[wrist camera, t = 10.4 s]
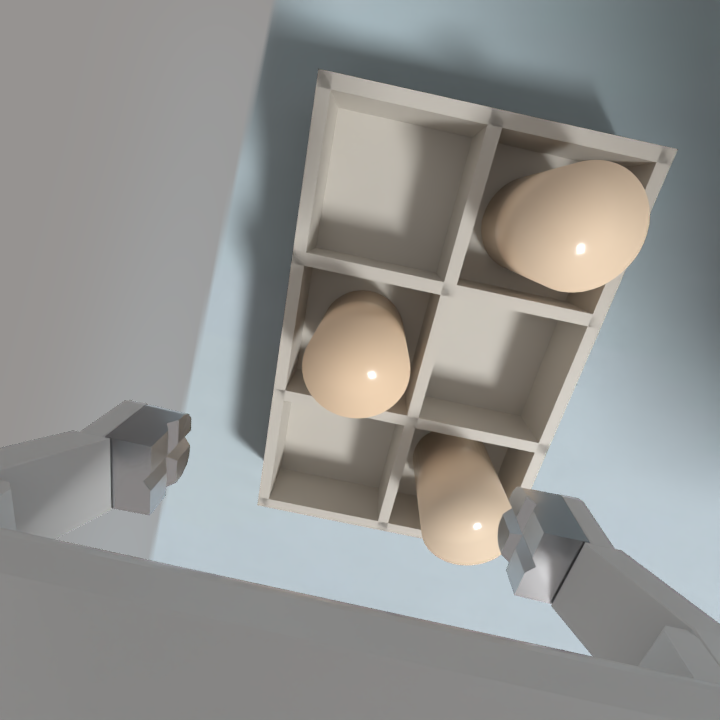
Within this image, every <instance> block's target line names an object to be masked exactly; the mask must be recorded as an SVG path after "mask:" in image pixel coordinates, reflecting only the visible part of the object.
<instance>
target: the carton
mask: <svg viewBox="0 0 720 720" xmlns="http://www.w3.org/2000/svg"><path fill="white" fill-rule="evenodd" d="M677 150H678V149H675V148H670V147H666V146H661V145H657V144H652V143H648V142H643V141H639V140H634V139H630V138H626V137H621V136H617V135H612V134H608V133H603V132H599V131H594V130H590V129H585V128H581V127H576V126H572V125H567V124H563V123H559V122H554V121H550V120H545V119H541V118H536V117H532V116H527V115H523V114H518V113H514V112H509V111H505V110H500V109H496V108H492V107H487V106H483V105H478V104H474V103H469V102H465V101H460V100H456V99H451V98H447V97H442V96H438V95H433V94H429V93H425V92H420V91H416V90H411V89H407V88H402V87H398V86H393V85H389V84H384V83H380V82H375V81H371V80H366V79H362V78H358V77H353V76H349V75H344V74H340V73H335V72H331V71H326V70H322V69H318V76H317V83H316V90H315V97H314V104H313V111H312V119H311V126H310V133H309V140H308V147H307V154H306V162H305V169H304V176H303V183H302V190H301V197H300V204H299V212H298V219H297V226H296V233H295V240H294V247H293V254H292V262H291V269H290V276H289V283H288V290H287V297H286V305H285V312H284V319H283V326H282V333H281V340H280V347H279V355H278V362H277V369H276V376H275V383H274V390H273V398H272V405H271V412H270V419H269V426H268V433H267V440H266V448H265V455H264V462H263V469H262V476H261V483H260V491H259V498H258V505H259V506H264V507H269V508H274V509H279V510H284V511H289V512H294V513H299V514H304V515H308V516H313V517H318V518H323V519H328V520H333V521H338V522H343V523H348V524H353V525H358V526H363V527H368V528H373V529H378V530H383V531H388V532H393V533H398V534H402V535H407V536H412V537H417V538H422V533H421V525H420V517H419V508H418V500H417V492H416V483H415V475H414V467H413V453H414V450H415V447H416V445H417V444H418V442H419V441H420V440H421V439H422V438H423V437H424V436H425V435H426V434H428V433H429V432H431V431H433V432H437V433H442V434H447V435H452V436H457V437H462V438H466V439H471V440H476V441H481V442H483V444H484V446H485V448H486V450H487V452H488V455H489V457H490V459H491V462H492V464H493V466H494V468H495V471H496V473H497V475H498V478H499V480H500V482H501V484H502V487H503V489H504V491H505V494H506V496H507V498H508V501H509V498H510V496H511V494H512V491H513V490H514V489H515V488H516V487H522V488H527V489H531V488H532V486H533V483H534V481H535V479H536V476H537V474H538V472H539V470H540V467H541V465H542V463H543V460H544V458H545V456H546V453H547V451H548V449H549V446H550V444H551V442H552V439H553V437H554V435H555V432H556V430H557V428H558V426H559V423H560V421H561V419H562V416H563V414H564V412H565V409H566V407H567V405H568V402H569V400H570V398H571V395H572V393H573V391H574V389H575V386H576V384H577V382H578V379H579V377H580V375H581V372H582V370H583V368H584V365H585V363H586V361H587V358H588V356H589V354H590V351H591V349H592V347H593V345H594V342H595V340H596V338H597V335H598V333H599V331H600V328H601V326H602V324H603V321H604V319H605V317H606V314H607V312H608V310H609V308H610V305H611V303H612V301H613V298H614V296H615V294H616V291H617V289H618V287H619V284H620V282H621V280H622V277H623V275H624V273H625V270H626V269H625V270H624V271H623V272H622V273H621V274H620V275H618V276H617V277H616V278H614V279H613V280H611V281H610V282H608V283H606V284H604V285H602V286H600V287H598V288H595V289H592V290H588V291H584V292H561V291H557V290H553V289H551V288H548V287H546V286H544V285H542V284H539V283H537V282H535V281H533V280H530V279H528V278H526V277H524V276H521V275H519V274H517V273H515V272H512V271H510V270H508V269H506V268H503V267H501V266H500V265H498V264H497V263H496V262H494V261H493V260H492V258H491V257H490V256H489V255H488V253H487V252H486V250H485V247H484V245H483V242H482V236H481V224H482V218H483V215H484V212H485V209H486V207H487V205H488V203H489V202H490V200H491V199H492V197H493V196H494V195H495V194H496V193H497V192H498V191H499V190H500V189H501V188H502V187H503V186H505V185H506V184H508V183H509V182H511V181H513V180H515V179H518V178H521V177H525V176H528V175H532V174H536V173H540V172H543V171H547V170H551V169H555V168H558V167H562V166H566V165H570V164H573V163H577V162H581V161H587V160H605V161H610V162H613V163H617V164H619V165H621V166H623V167H625V168H626V169H628V170H629V171H631V172H632V173H633V174H634V175H635V176H636V177H637V178H638V180H639V181H640V182H641V184H642V186H643V187H644V189H645V191H646V194H647V197H648V201H649V207H650V213H651V210H652V208H653V206H654V203H655V201H656V199H657V196H658V194H659V192H660V189H661V187H662V185H663V183H664V180H665V178H666V176H667V173H668V171H669V169H670V166H671V164H672V162H673V159H674V157H675V155H676V152H677ZM358 290H367V291H373V292H376V293H379V294H381V295H383V296H384V297H386V298H387V299H389V300H390V301H391V302H392V303H393V304H394V305H395V307H396V308H397V309H398V311H399V313H400V315H401V318H402V321H403V326H404V332H405V337H406V343H407V349H408V354H409V360H410V378H409V382H408V385H407V388H406V390H405V392H404V394H403V395H402V397H401V398H400V399H399V400H398V401H397V403H396V404H394V405H393V406H392V407H391V408H389V409H388V410H386V411H385V412H383V413H381V414H378V415H375V416H372V417H368V418H348V417H343V416H339V415H337V414H334V413H332V412H330V411H328V410H327V409H325V408H324V407H322V406H321V405H320V404H319V403H318V402H317V401H316V400H315V399H314V398H313V397H312V395H311V394H310V392H309V391H308V389H307V387H306V384H305V381H304V378H303V373H302V361H303V356H304V352H305V349H306V347H307V345H308V343H309V341H310V340H311V338H312V336H313V334H314V333H315V331H316V329H317V327H318V326H319V324H320V322H321V320H322V319H323V317H324V315H325V313H326V311H327V310H328V308H329V307H330V305H331V304H332V303H333V302H334V301H335V300H336V299H338V298H339V297H340V296H342V295H344V294H346V293H349V292H352V291H358ZM509 503H510V501H509ZM510 505H511V504H510ZM422 539H423V538H422ZM501 555H502V554H501Z"/></svg>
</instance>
